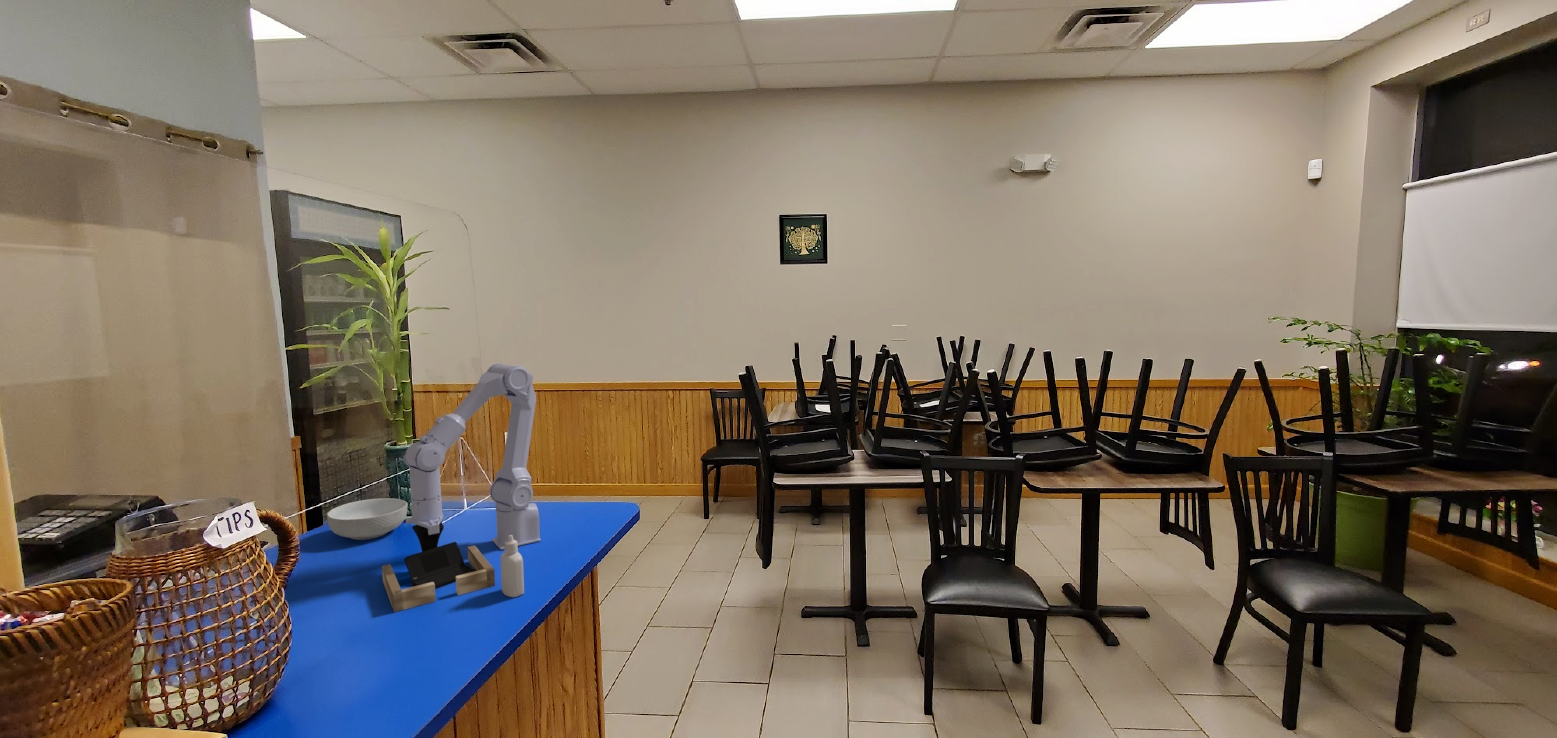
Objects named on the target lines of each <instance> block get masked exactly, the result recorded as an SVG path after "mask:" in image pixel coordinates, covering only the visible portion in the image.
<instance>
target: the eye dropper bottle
mask: <svg viewBox="0 0 1557 738" xmlns="http://www.w3.org/2000/svg"><path fill="white" fill-rule="evenodd" d="M504 545H505V549H504V552H503V553H501V555H500V577H501V579H500V582H501V584H500V585H501V592H502V593H503V595H505V596H506V597H509V598H516V597H520V596H522V595H524V594H525V581H524V577H525V576H524V559H523V556H522V554H521V553H520V552H519V549H518V547H519V546H518V543H517V541H516V540H514V539H513V535H509V538H508V541H506V542H505V543H504Z"/></svg>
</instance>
